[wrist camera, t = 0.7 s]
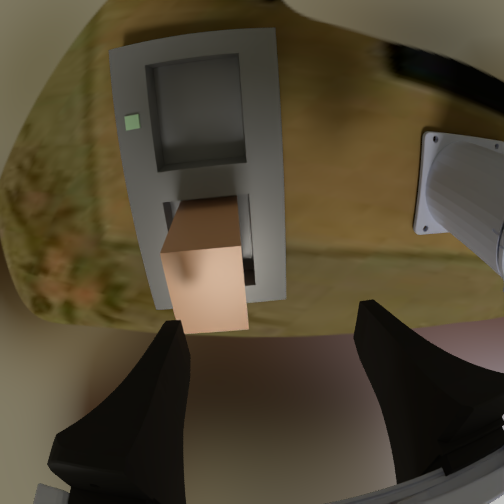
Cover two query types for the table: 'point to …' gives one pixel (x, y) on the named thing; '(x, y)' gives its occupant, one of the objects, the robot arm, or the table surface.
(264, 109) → the grey slotted tray
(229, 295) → the tan rectangular block
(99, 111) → the table surface
